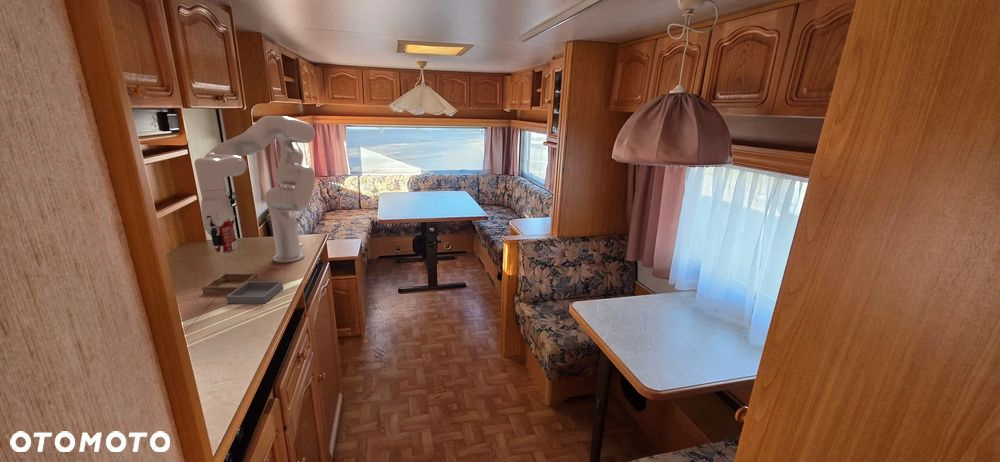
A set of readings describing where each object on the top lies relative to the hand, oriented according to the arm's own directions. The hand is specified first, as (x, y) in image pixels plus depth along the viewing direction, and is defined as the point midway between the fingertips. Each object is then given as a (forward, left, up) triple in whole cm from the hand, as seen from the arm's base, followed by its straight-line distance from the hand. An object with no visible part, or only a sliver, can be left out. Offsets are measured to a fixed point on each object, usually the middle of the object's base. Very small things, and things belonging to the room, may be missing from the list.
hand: (224, 241), depth 146 cm
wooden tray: (0, 0, -17) cm, 17 cm away
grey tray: (+8, +13, -17) cm, 24 cm away
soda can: (0, 0, -4) cm, 4 cm away
